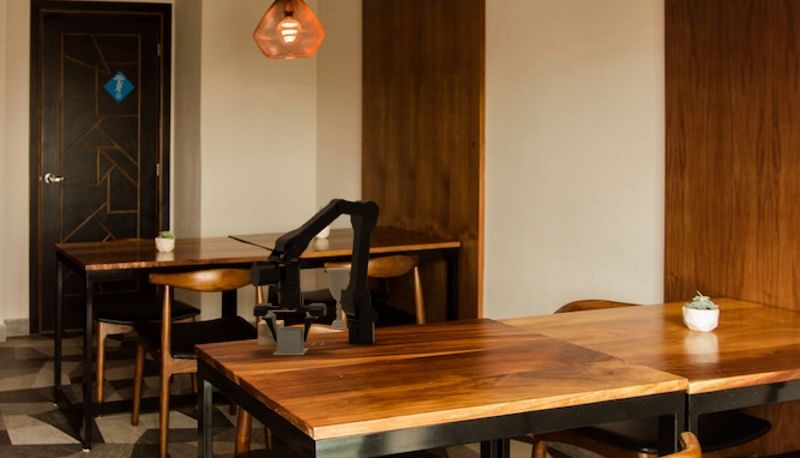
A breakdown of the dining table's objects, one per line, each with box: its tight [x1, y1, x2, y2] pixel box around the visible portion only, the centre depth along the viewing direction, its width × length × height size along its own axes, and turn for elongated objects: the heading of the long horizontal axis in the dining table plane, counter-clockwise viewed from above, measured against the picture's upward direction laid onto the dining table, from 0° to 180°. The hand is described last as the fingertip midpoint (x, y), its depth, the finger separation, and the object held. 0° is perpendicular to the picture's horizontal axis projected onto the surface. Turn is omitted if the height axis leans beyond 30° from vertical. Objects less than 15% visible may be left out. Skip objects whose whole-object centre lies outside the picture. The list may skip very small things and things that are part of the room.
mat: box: [272, 347, 309, 356], centre depth 267 cm, size 8×8×1 cm
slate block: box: [276, 326, 305, 353], centre depth 267 cm, size 6×6×6 cm
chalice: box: [325, 267, 351, 330], centre depth 304 cm, size 7×7×18 cm
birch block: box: [257, 319, 285, 347], centre depth 279 cm, size 6×6×6 cm
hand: (290, 342), depth 267 cm, fingers open, 7 cm apart
